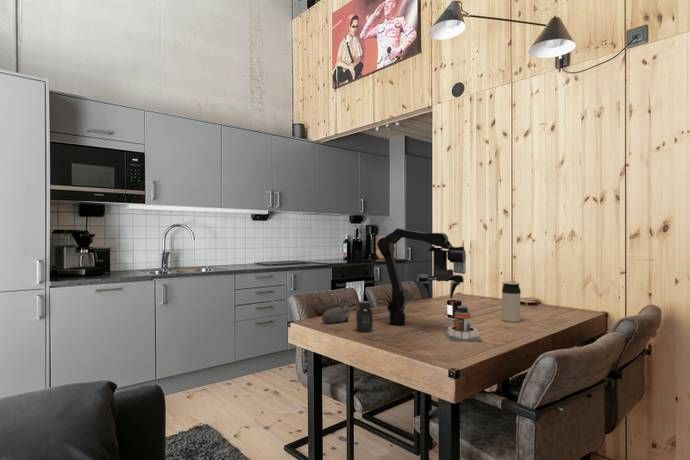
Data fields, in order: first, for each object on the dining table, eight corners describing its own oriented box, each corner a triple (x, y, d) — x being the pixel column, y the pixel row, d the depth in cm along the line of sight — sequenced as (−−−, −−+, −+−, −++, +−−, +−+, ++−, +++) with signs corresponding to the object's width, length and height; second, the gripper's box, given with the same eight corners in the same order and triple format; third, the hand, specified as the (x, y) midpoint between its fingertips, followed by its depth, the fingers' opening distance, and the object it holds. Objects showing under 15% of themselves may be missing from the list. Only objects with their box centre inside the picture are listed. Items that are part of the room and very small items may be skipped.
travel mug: (501, 321, 191) (502, 282, 191) (502, 318, 198) (502, 280, 198) (520, 323, 188) (520, 283, 188) (520, 319, 195) (520, 281, 195)
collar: (449, 341, 157) (449, 332, 157) (444, 333, 169) (444, 324, 169) (481, 341, 156) (482, 332, 156) (474, 333, 168) (474, 325, 168)
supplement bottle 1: (374, 329, 175) (374, 301, 175) (370, 333, 168) (370, 303, 168) (359, 328, 177) (359, 300, 177) (354, 331, 170) (354, 302, 170)
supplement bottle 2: (451, 334, 163) (451, 306, 163) (461, 332, 167) (461, 304, 167) (463, 337, 158) (463, 308, 158) (473, 335, 162) (473, 307, 162)
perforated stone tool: (324, 325, 181) (324, 309, 181) (318, 323, 186) (319, 307, 186) (353, 321, 189) (353, 306, 189) (347, 319, 194) (347, 304, 194)
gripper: (419, 263, 169) (419, 301, 169) (466, 263, 167) (466, 302, 167) (417, 261, 180) (417, 297, 180) (460, 261, 178) (460, 297, 178)
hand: (439, 298), depth 176 cm, fingers open, 9 cm apart
